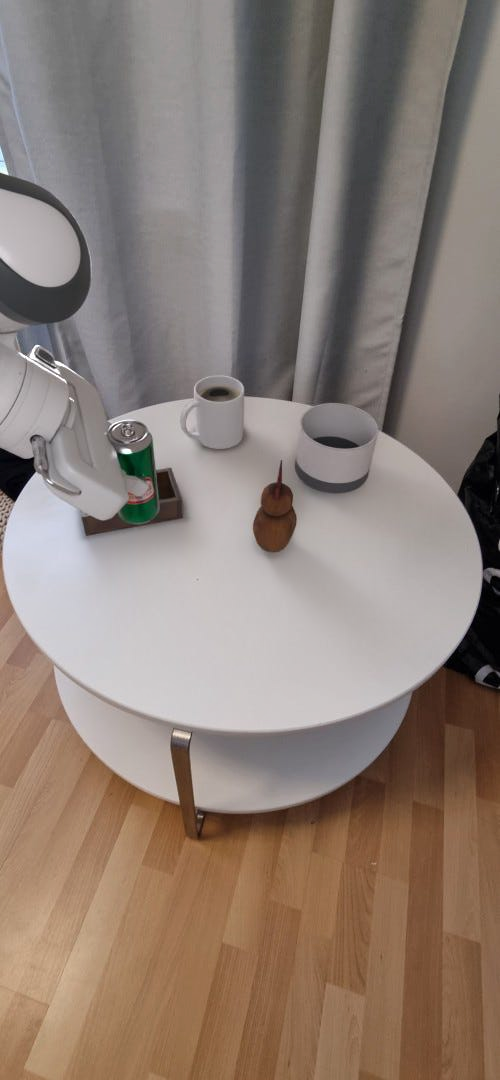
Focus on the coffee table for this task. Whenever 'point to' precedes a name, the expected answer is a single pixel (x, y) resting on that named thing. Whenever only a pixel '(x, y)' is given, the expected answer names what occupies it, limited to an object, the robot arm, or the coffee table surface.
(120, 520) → the holder
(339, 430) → the planter
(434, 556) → the coffee table surface
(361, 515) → the coffee table surface
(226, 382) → the mug
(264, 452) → the coffee table surface
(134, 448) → the soda can
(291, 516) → the wooden figurine
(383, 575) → the coffee table surface
